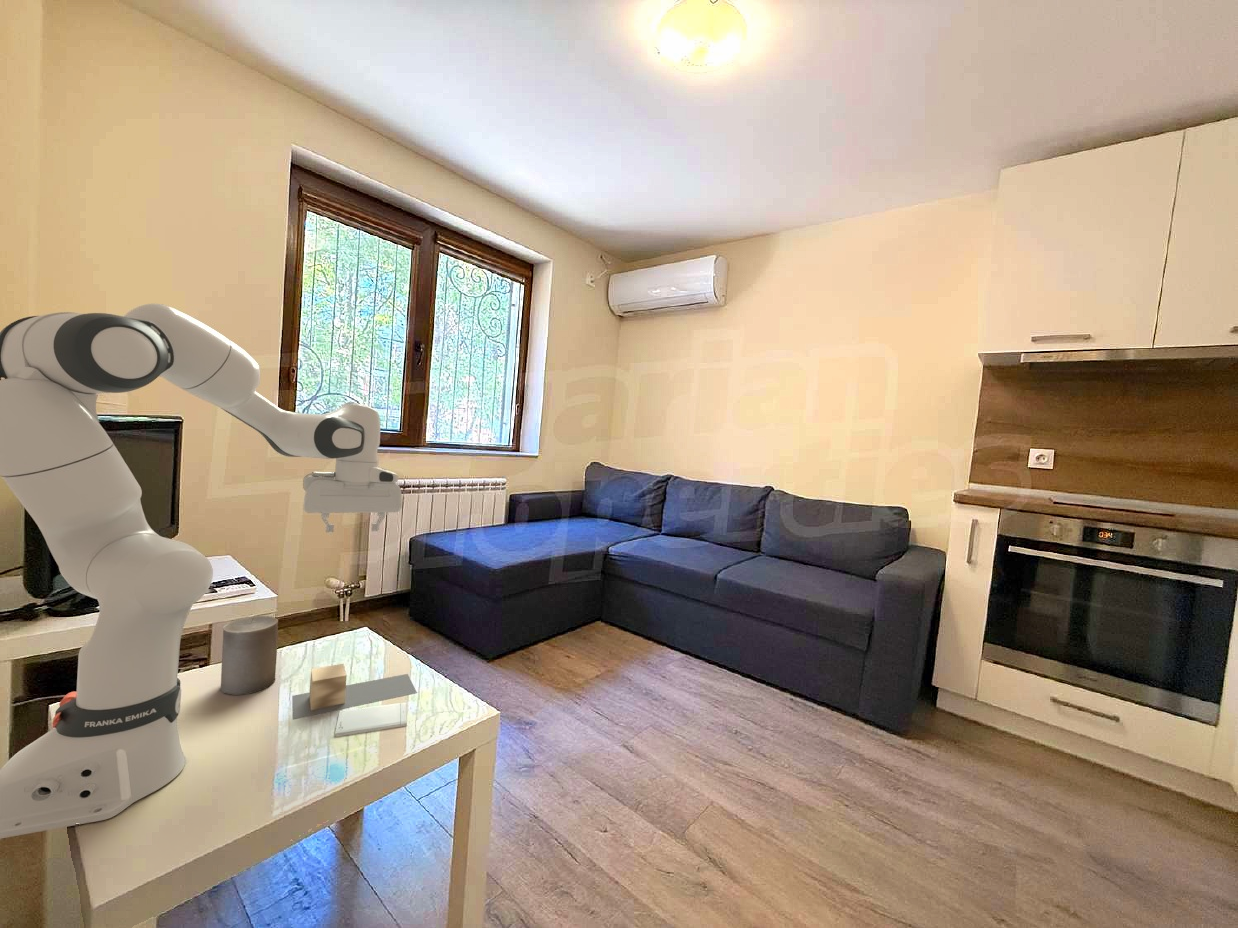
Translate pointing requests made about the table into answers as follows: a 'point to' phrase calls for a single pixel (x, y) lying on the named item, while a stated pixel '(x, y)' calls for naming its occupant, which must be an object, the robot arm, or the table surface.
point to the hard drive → (371, 719)
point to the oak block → (327, 686)
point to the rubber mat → (358, 695)
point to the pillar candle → (249, 654)
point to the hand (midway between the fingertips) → (352, 531)
